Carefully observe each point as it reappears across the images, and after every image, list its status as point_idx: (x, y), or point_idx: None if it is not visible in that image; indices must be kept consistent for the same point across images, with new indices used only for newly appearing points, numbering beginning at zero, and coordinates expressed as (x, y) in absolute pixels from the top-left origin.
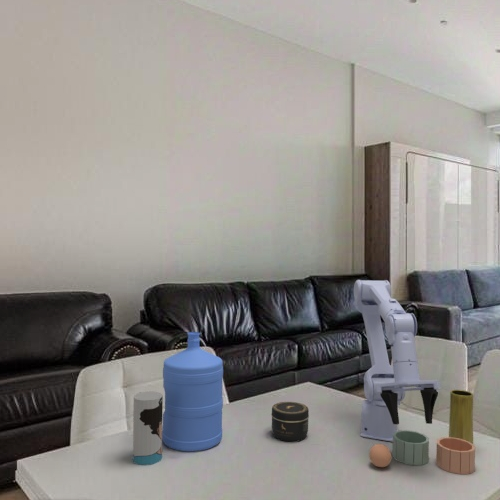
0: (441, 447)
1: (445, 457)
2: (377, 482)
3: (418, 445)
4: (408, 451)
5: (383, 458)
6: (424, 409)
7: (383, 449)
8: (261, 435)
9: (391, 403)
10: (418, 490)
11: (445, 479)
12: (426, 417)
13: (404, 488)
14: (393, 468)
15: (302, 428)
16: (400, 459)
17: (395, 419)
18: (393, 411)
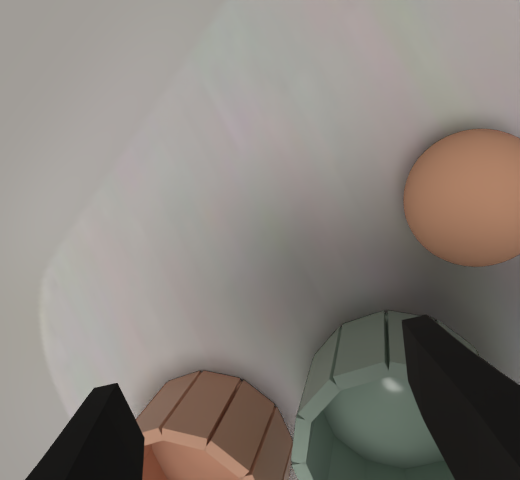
0: (211, 439)
1: (201, 405)
2: (374, 14)
3: (314, 391)
4: (363, 345)
5: (425, 156)
6: (61, 478)
7: (446, 186)
8: None
9: (512, 462)
10: (201, 113)
11: (181, 296)
12: (84, 416)
13: (251, 76)
14: (396, 222)
15: None
16: (408, 318)
17: (417, 352)
18: (458, 401)
